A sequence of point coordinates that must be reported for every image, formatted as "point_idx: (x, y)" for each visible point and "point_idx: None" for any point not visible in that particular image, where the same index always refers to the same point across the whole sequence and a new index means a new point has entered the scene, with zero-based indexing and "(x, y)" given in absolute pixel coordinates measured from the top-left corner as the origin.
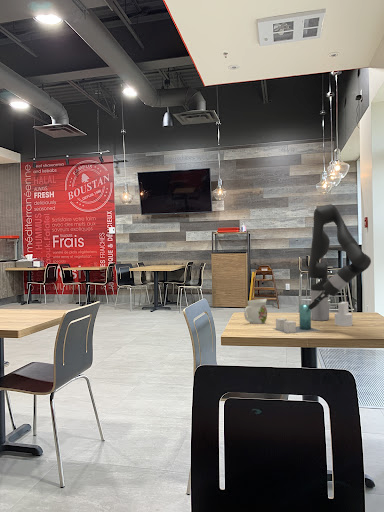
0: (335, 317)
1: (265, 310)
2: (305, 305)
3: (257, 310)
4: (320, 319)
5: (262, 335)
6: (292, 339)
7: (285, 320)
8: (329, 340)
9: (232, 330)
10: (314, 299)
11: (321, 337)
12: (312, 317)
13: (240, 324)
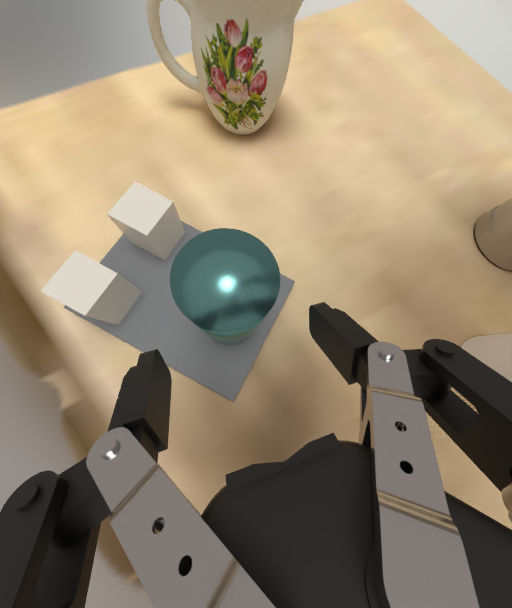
0: (499, 346)
1: (245, 67)
2: (178, 302)
3: (200, 43)
4: (491, 254)
5: (50, 219)
6: (26, 361)
7: (141, 234)
8: None
9: (88, 95)
10: (15, 508)
11: None
12: (486, 218)
13: None
